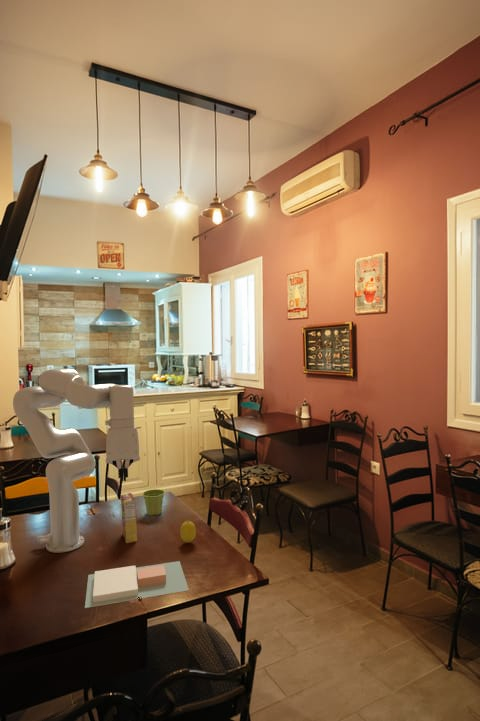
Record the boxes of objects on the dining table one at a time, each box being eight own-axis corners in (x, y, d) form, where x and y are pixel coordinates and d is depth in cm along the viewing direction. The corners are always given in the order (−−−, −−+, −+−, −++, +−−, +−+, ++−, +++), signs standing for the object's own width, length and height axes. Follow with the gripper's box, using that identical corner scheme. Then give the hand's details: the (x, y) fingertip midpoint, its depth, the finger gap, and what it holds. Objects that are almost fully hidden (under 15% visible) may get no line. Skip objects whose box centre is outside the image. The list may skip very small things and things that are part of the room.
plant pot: (154, 518, 177) (154, 497, 177) (138, 514, 182) (137, 494, 182) (170, 511, 185) (169, 491, 185) (153, 507, 190) (153, 487, 190)
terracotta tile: (138, 587, 125) (138, 579, 125) (137, 577, 131) (136, 569, 131) (166, 582, 128) (166, 574, 128) (163, 573, 133) (163, 564, 133)
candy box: (121, 534, 163) (120, 493, 163) (133, 532, 165) (132, 492, 164) (125, 543, 155) (124, 501, 154) (137, 541, 156) (136, 499, 156)
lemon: (198, 541, 156) (198, 519, 156) (190, 547, 151) (190, 524, 151) (185, 538, 158) (185, 516, 158) (177, 544, 153) (176, 522, 153)
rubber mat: (84, 609, 116) (84, 608, 116) (88, 575, 133) (88, 574, 133) (188, 591, 124) (188, 590, 124) (179, 561, 141) (179, 561, 141)
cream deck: (93, 602, 118) (92, 596, 118) (95, 576, 132) (94, 571, 132) (138, 594, 122) (138, 588, 121) (135, 570, 135) (135, 565, 135)
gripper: (97, 426, 134) (98, 485, 134) (146, 423, 138) (147, 481, 139) (98, 423, 141) (99, 479, 142) (145, 420, 145) (146, 474, 146)
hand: (123, 479), depth 140 cm, fingers closed
